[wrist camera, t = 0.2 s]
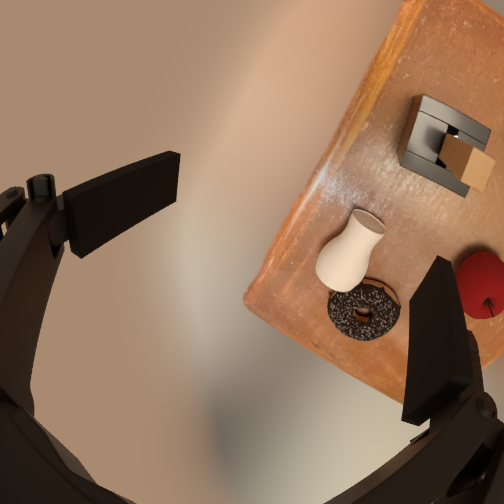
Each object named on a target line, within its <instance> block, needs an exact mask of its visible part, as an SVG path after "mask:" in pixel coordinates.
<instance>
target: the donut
mask: <svg viewBox="0 0 504 504" xmlns="http://www.w3.org/2000/svg"><path fill="white" fill-rule="evenodd" d="M327 308H328V315H329V317H330V319H331V321H332V323H333V324H334V325H335V327H336V328H337V329H338V330H339V331H340V332H341V333H343V334H344V335H346V336H348V337H351V338H353V339H356V340H361V341H370V340H374V339H376V338H379V337H381V336H383V335H385V334H386V333H387V332H388V331H390V330H391V328H392V327H393V326H394V325H395V324H396V322H397V320H398V318H399V315H400V309H401V306H399V302H398V299H397V298H396V296H395V294H394V292H393V291H392V290H391V289H390V288H388V287H387V286H385V285H384V284H382V283H380V282H377V281H373V280H369V279H362V280H361V282H360V283H359V284H358V285H356V286H355V287H354V288H353V289H351V290H350V291H348V292H339V291H334V293H333V295H332V297H331V298H329V301H328V306H327ZM357 308H366V309H369V310H371V311H372V313H373V314H372V315H371V316H370V317H362V316H359V315H358V314H356V313H355V309H357Z"/></svg>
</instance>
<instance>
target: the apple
mask: <svg viewBox="0 0 504 504" xmlns="http://www.w3.org/2000/svg"><path fill="white" fill-rule="evenodd" d="M456 282H457V286H458V290H459V294H460V298H461V303H462V307H463V311H464V312H465V313H466V314H467V315H469V316H470V317H472V318H475V319H487V318H492V317H495V316H496V315H498V314H500V313H501V312H502V311H503V310H504V262H502V261H501V260H500V259H499V258H498V257H497V256H496V255H494V254H492V253H489V252H478V253H474V254H472V255H471V256H470V257H468V258H467V259H465V260H464V262H463V263H462V264H461V266H460V267H459V269H458V272H457V275H456Z"/></svg>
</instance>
